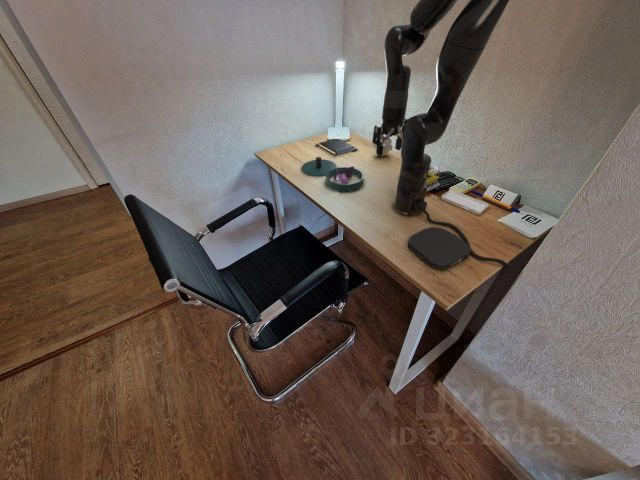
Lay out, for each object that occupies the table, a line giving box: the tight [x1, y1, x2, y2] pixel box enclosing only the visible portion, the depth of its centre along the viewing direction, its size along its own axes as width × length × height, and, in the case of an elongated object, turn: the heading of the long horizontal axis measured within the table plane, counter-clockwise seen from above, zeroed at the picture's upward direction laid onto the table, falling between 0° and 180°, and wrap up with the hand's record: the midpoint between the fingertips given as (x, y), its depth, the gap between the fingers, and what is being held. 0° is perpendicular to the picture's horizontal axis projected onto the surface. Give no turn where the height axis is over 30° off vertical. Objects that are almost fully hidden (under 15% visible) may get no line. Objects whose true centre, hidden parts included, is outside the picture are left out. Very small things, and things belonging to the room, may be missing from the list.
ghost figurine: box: [372, 137, 393, 157], centre depth 130 cm, size 9×10×10 cm
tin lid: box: [301, 156, 338, 177], centre depth 124 cm, size 17×17×6 cm
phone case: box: [440, 189, 490, 216], centre depth 98 cm, size 7×1×15 cm
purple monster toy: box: [332, 166, 355, 184], centre depth 112 cm, size 7×5×9 cm
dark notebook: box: [315, 138, 358, 157], centre depth 143 cm, size 20×2×15 cm
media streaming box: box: [407, 226, 471, 271], centre depth 80 cm, size 15×15×3 cm
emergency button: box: [425, 172, 441, 193], centre depth 111 cm, size 9×4×15 cm
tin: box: [325, 166, 365, 194], centre depth 114 cm, size 16×16×4 cm
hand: (388, 152), depth 96 cm, fingers open, 8 cm apart
